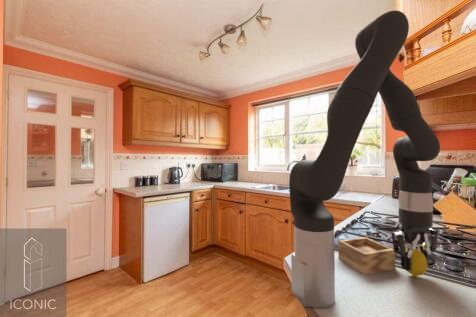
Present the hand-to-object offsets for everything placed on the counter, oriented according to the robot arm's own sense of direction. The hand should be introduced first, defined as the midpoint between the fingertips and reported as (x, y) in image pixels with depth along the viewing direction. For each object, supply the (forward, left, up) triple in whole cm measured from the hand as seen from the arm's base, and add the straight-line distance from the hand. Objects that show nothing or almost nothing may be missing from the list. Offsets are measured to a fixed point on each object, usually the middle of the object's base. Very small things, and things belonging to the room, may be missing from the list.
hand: (414, 267), depth 64 cm
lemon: (0, 0, -3) cm, 3 cm away
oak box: (-7, +10, -3) cm, 13 cm away
